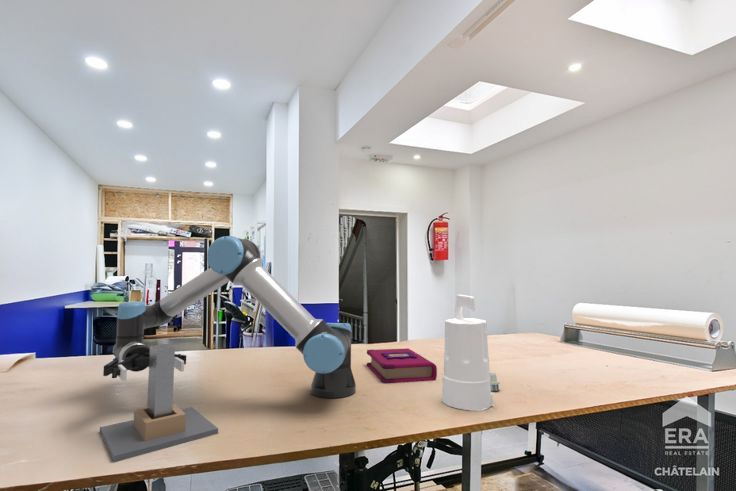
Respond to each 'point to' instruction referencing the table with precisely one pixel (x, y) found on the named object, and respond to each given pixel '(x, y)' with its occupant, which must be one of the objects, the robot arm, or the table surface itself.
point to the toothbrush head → (494, 382)
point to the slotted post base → (137, 446)
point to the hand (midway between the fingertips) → (155, 370)
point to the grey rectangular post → (160, 381)
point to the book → (401, 366)
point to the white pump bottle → (466, 360)
